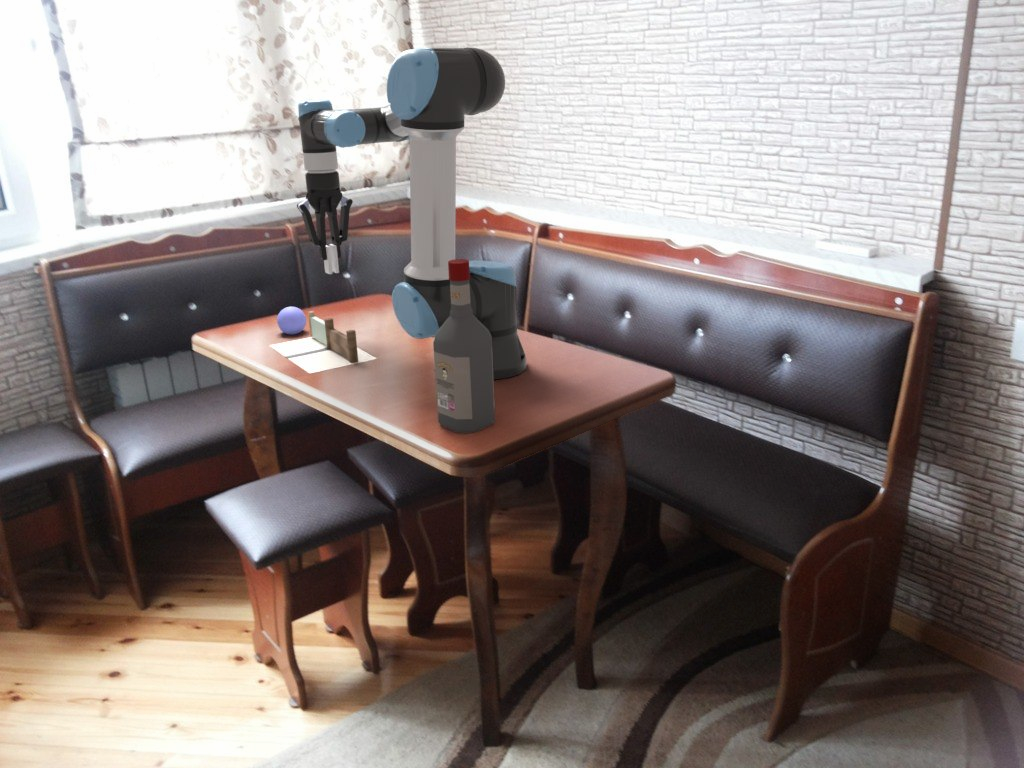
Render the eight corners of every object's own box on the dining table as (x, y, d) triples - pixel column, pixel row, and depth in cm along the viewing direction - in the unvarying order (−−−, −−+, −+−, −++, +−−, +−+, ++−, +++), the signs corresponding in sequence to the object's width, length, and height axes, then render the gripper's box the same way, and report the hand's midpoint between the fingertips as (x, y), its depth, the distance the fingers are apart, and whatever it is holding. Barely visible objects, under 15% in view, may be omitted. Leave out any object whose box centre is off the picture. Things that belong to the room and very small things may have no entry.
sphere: (311, 330, 220) (308, 303, 218) (302, 338, 214) (298, 310, 211) (284, 330, 221) (281, 303, 218) (274, 338, 214) (271, 310, 212)
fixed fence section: (359, 361, 194) (356, 331, 191) (351, 363, 192) (348, 333, 190) (334, 346, 205) (331, 317, 203) (326, 348, 204) (322, 319, 201)
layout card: (377, 360, 195) (377, 358, 195) (309, 375, 187) (309, 373, 187) (331, 334, 216) (331, 332, 216) (268, 346, 208) (268, 344, 207)
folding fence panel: (332, 344, 205) (330, 319, 203) (326, 345, 204) (323, 321, 202) (315, 334, 213) (313, 310, 211) (309, 335, 212) (306, 311, 210)
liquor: (465, 437, 153) (456, 269, 143) (431, 424, 159) (420, 262, 149) (502, 422, 159) (496, 260, 149) (468, 410, 165) (460, 253, 155)
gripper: (343, 167, 205) (352, 265, 213) (286, 172, 198) (298, 274, 206) (356, 169, 199) (365, 270, 207) (298, 175, 192) (310, 279, 200)
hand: (332, 272), depth 207 cm, fingers closed
